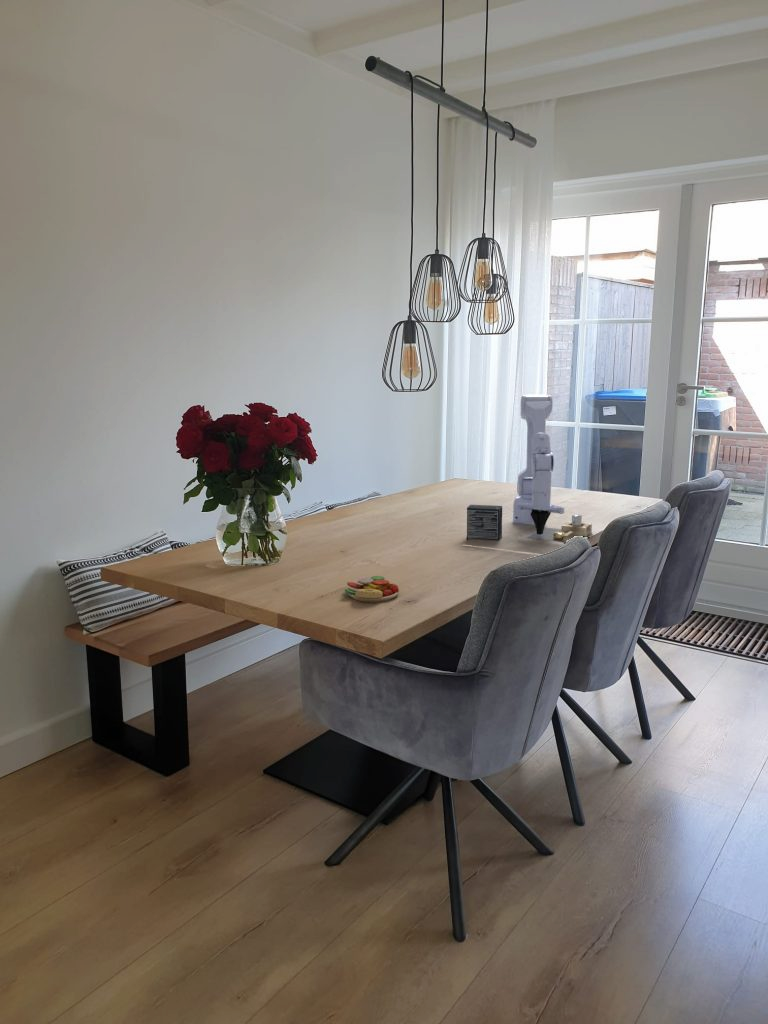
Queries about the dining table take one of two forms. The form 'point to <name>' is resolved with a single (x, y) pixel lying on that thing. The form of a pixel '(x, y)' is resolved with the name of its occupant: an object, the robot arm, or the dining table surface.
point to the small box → (484, 522)
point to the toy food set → (372, 589)
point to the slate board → (546, 534)
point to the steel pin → (576, 520)
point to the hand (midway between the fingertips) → (539, 533)
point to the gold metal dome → (558, 535)
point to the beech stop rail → (567, 536)
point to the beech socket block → (577, 529)
